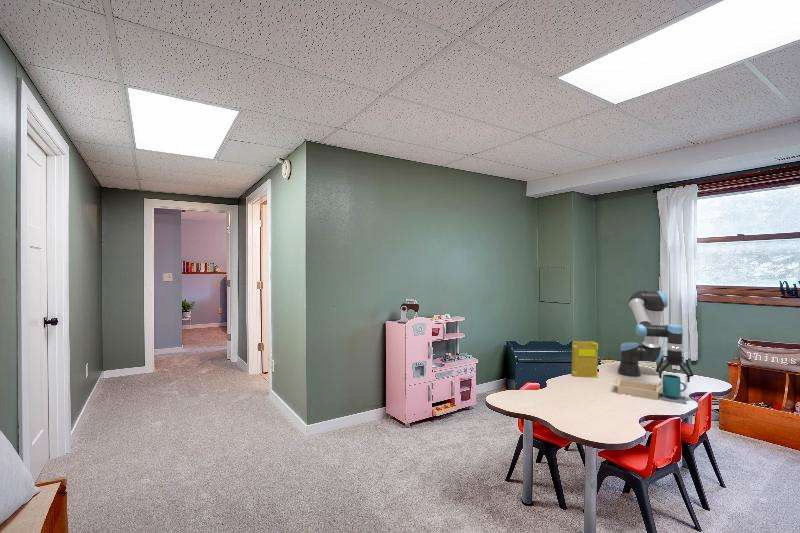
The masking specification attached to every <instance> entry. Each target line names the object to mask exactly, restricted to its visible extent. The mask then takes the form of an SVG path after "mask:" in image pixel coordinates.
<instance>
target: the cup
mask: <svg viewBox="0 0 800 533" xmlns="http://www.w3.org/2000/svg"><path fill="white" fill-rule="evenodd" d="M681 385H682V386H683V389H681ZM662 387H663V388H662V393H663V394H665V395H668V396H674V397H678V396H681V392H685V391H686V390H687V388H686V385H685V382H682V381H681V377H680V376H679V375H675V374H667V373H666V374H663V384H662Z"/></svg>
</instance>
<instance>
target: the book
mask: <svg viewBox="0 0 800 533" xmlns="http://www.w3.org/2000/svg"><path fill="white" fill-rule="evenodd" d="M571 344H572V345H571V376H572V377H575V378H591V379H592V378H593V379H594V378H595V379H598V376H599V374H598V372H599V371H598V368H599V367H598V360H599V357H598V356H599V355H598V354H599V353H598V352H599V343H598V342H596V341H589V340H587V341H586V340H584V341H583V340H581V341H580V340H573V341H571Z"/></svg>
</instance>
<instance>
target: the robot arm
mask: <svg viewBox="0 0 800 533" xmlns="http://www.w3.org/2000/svg"><path fill="white" fill-rule="evenodd" d="M627 302H628V307H629V308H631V310H632V313H633V315H634V318H635V320H636V323H637V324H636V326H635V333H636V335H637V336H639V337H644V341H642V343H641V344H639V343H638V342H633V341H631V342H623V343H621V344H620V363H619V365H618V368H617V373H618V375H622V376H627V377H641V376H642V371H641V369H640V365H639V361H640V362H649V363H658V364H657V366H656V369H655V372H657V373H658V377H659V379H661V380H660V382H661V384H662V385H663V375H664V374H663V373H664V371H665V370H666V369H667V368H668V367H669V366H676V367H678V366H679V368H680V369H681V371H683V372H684V374H685V382H684V384H685V385H686V389H687V388H688V383H690V377H694V373H693V371H692V369H691V366H690V365H689V360H688V358H687V359H686V358H685V359H683V332H684V330H683V326H682V325H681V324H674V323H673V324H672V323H671V324H664V325H661V317H662V312H664V311H665V309H667V308H668V304H669V303H668V297H667V294H666V292H664V291H663V290H662V291H661V290H643V289H642V290H636V291H634V292H633V293H632V294H631V295H630V296H629V298H628V300H627ZM659 338H666V339H667V341H666V344H667V345H666V348H667V350H666V357H664V349H663V347H662V346H661V344H660V342H659ZM664 361H667V362H666V364H664V365H663V367H661V366H662V364H663V363H664ZM682 363H684V364H685V366H686V368H687V369H688V371H689V373H688V371H687V369H685V367H684V366H683V365H682Z"/></svg>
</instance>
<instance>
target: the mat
mask: <svg viewBox="0 0 800 533" xmlns="http://www.w3.org/2000/svg"><path fill="white" fill-rule="evenodd" d="M661 400H662V401H664V402H665V401H666V402H670V403H678V404H682V405H687V404H688V403H687V400H686V397H685V396H684V395H680V396H678V397H674V396H668V395H665V394H663V392H661Z"/></svg>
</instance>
